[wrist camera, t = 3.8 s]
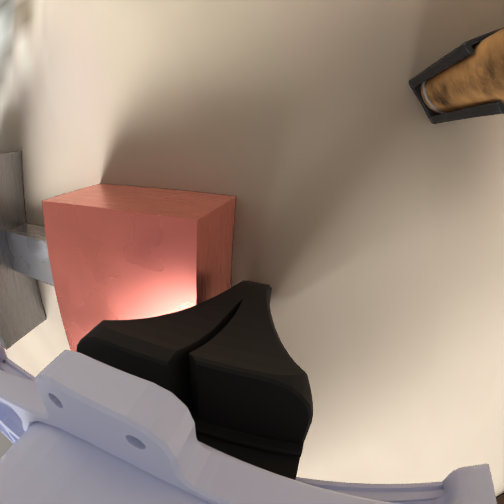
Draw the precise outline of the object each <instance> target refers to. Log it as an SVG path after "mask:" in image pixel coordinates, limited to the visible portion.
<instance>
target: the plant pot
mask: <svg viewBox="0 0 504 504" xmlns="http://www.w3.org/2000/svg"><path fill="white" fill-rule="evenodd" d="M496 501H497V504H504V494H502V495H501V496H499V497H497V498H496Z"/></svg>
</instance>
